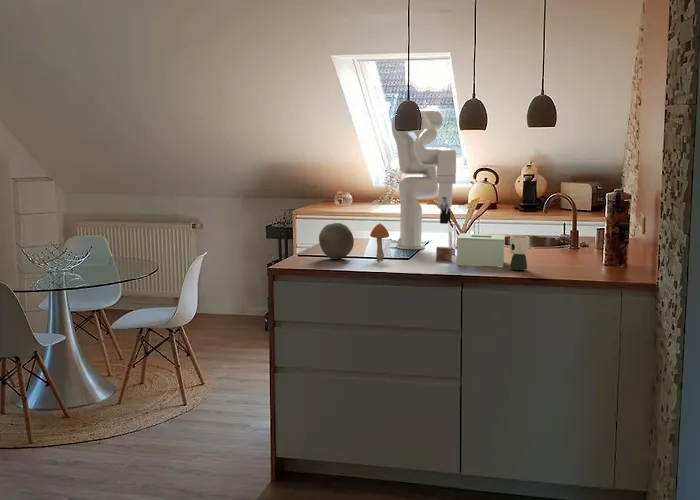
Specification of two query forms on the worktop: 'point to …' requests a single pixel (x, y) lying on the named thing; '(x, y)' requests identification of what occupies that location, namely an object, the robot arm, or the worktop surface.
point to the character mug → (519, 252)
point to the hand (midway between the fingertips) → (445, 222)
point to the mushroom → (379, 238)
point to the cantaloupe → (336, 240)
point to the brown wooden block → (444, 254)
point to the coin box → (480, 250)
